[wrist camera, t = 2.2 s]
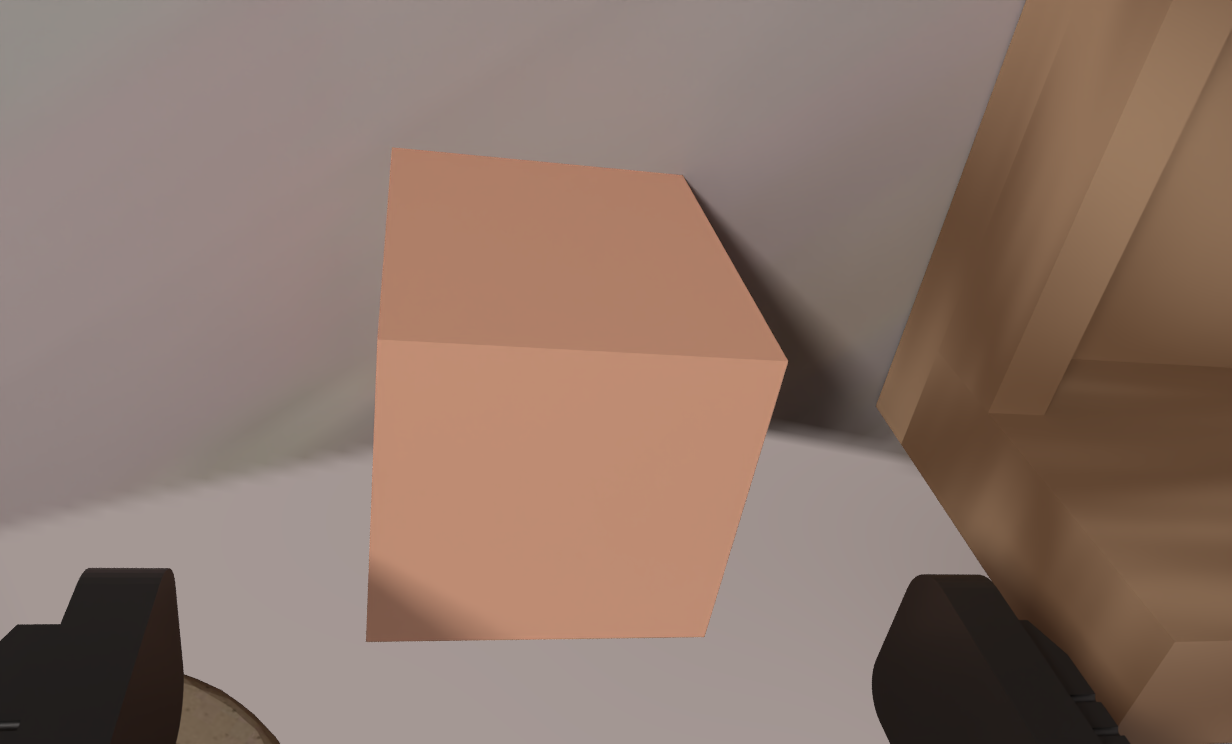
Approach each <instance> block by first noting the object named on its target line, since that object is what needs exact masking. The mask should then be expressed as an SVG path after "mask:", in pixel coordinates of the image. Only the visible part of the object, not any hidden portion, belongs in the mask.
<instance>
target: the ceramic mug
mask: <svg viewBox="0 0 1232 744" xmlns="http://www.w3.org/2000/svg"><path fill="white" fill-rule="evenodd" d="M176 744H280V743H279V741H278V740H277V739H276V737H275V736H274V735H273V734H272V733H271V732H270V731H269V730H268V729H267V728H266V726H265V725H263V723H262V722H261V721H260V720H259V719H258V718H257V717H256V716H255V715H254V714H253V713H252V712H250V711H249V710H248V709H247V708H245V707H244V706H243V705H242V704H240V703H239V702H237V701H236V700H235V699H233V698H232V697H230V696H229V695H228V694H226V693H225V692H223V691H222V690H220V689H218V688H216V687H213V686H211V685H209V684H207V683H204V682H202V681H200V680H198V679H195V678H193V677H190V676H187V675H184V692H183V705H182V714H181V721H180V727H179V732H178V737H177V741H176Z"/></svg>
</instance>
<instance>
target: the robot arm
mask: <svg viewBox="0 0 1232 744" xmlns="http://www.w3.org/2000/svg"><path fill="white" fill-rule="evenodd" d="M183 692H184V672H183V660H182V650H181V639H180V629H179V618H178V608H177V597H176V587H175V578H174V574H173V572H172V570H171V569H170V568H88V569H86V570H85V571H84V572H83V574H82V575H81V577H80V579H79V581H78V583H77V585H76V588H75V590H74V593H73V595H72V597H71V600H70V602H69V605H68V607H67V610H66V612H65V615H64V617H63V619H62V622H61V624H42V625H41V624H34V625H16V626H15V627H14V628H13V629H12V630H11V631H10V632H9V633H8V634H7V635H6V636H5V637H4V638H3V639H2V640H1V641H0V744H176V741H177V737H178V732H179V727H180V721H181V714H182V705H183ZM872 694H873V700H874V706H875V710H876V713H877V716H878V718H879V721H880V723H881V725H882V727H883V729H884V731H885V734H886V736H887V738H888V740H889V742H890V744H1130V742H1129V741H1128V739H1127V738H1126V737H1125V735H1122V736H1121V735H1120V734H1119V732H1118V725H1117V724H1116V722H1115V721H1114V720H1113V718H1112V717H1111V715H1110V714H1109V712H1108V711H1107V710H1106V708H1105V707H1104V705H1103V704H1102V703H1101V702H1096V700H1095V693H1094V691H1093V690H1092V688H1091V687H1090V686H1089V684H1088V683H1087V681H1086V680H1085V678H1084V677H1083V676H1082V674H1081V673H1080V671H1079V670H1078V669H1077V667H1076V666H1075V664H1074V663H1073V661H1072V660H1071V659H1070V657H1069V656H1068V654H1066V653H1065V652H1064V651H1063V650H1062V649H1061V648H1059V647H1058V646H1057V645H1056V644H1055V643H1054V642H1053V641H1051V640H1050V639H1049V638H1048V637H1047V636H1046V635H1044V634H1043V633H1042V632H1041V631H1040V630H1039V629H1037V628H1036V627H1035V626H1034V625H1033V624H1032V623H1030V622H1029V621H1028V620H1019V619H1018V618H1017V617H1016V615H1015V614H1014V612H1013V611H1012V609H1011V608H1010V606H1009V605H1008V603H1007V602H1006V600H1005V599H1004V597H1003V596H1002V594H1001V593H1000V591H999V590H998V589H997V587H996V586H995V585H994V583H993V582H992V581H991V580H989V579H988V578H987V577H985V576H982V575H935V574H933V575H931V574H926V575H925V574H924V575H919V576H917V577H915V578H914V579H913V580H912V581H911V583H910V584H909V586H908V588H907V590H906V593H905V595H904V597H903V600H902V602H901V604H900V607H899V609H898V611H897V613H896V616H895V618H894V620H893V622H892V625H891V627H890V630H889V632H888V634H887V636H886V639H885V641H884V643H883V645H882V648H881V650H880V652H879V655H878V657H877V659H876V662H875V665H874V669H873V675H872Z"/></svg>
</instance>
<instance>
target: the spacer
mask: <svg viewBox="0 0 1232 744" xmlns="http://www.w3.org/2000/svg"><path fill="white" fill-rule="evenodd" d="M787 364H788V360H787V358H786V357H785V355H784V353H783V351H782V350H781V348H780V346H779V344H778V342H777V341H776V339H775V337H774V335H773V334H772V332H771V330H770V328H769V327H768V325H767V323H766V321H765V320H764V318H763V316H762V314H761V313H760V311H759V309H758V307H757V305H756V304H755V302H754V300H753V298H752V297H751V295H750V293H749V291H748V290H747V288H746V286H745V284H744V283H743V281H742V279H741V277H740V276H739V274H738V272H737V270H736V269H735V267H734V265H733V263H732V261H731V260H730V258H729V256H728V254H727V253H726V251H725V249H724V247H723V246H722V244H721V242H720V240H719V239H718V237H717V235H716V233H715V232H714V230H713V228H712V226H711V225H710V223H709V221H708V219H707V217H706V216H705V214H704V212H703V210H702V209H701V207H700V205H699V203H698V202H697V200H696V198H695V196H694V195H693V193H692V191H691V189H690V188H689V186H688V184H687V182H686V181H685V179H684V177H683V175H674V174H663V173H653V172H642V171H632V170H621V169H611V168H601V167H590V166H580V165H569V164H559V163H548V162H538V161H528V160H517V159H507V158H496V157H486V156H475V155H465V154H454V153H444V152H434V151H423V150H413V149H402V148H392V155H391V168H390V181H389V195H388V208H387V221H386V234H385V248H384V261H383V274H382V287H381V301H380V314H379V327H378V342H377V368H376V394H375V420H374V447H373V474H372V500H371V525H370V527H371V528H370V552H369V579H368V605H367V631H366V642H392V641H452V640H453V641H455V640H456V641H459V640H460V641H461V640H524V639H525V640H528V639H529V640H530V639H594V638H596V639H598V638H599V639H600V638H668V637H705V634H706V630H707V627H708V624H709V620H710V617H711V614H712V610H713V607H714V604H715V601H716V597H717V594H718V591H719V587H720V584H721V581H722V578H723V574H724V571H725V567H726V564H727V561H728V558H729V555H730V551H731V548H732V545H733V541H734V538H735V535H736V532H737V528H738V525H739V522H740V518H741V515H742V512H743V508H744V505H745V502H746V499H747V495H748V492H749V489H750V486H751V482H752V479H753V476H754V472H755V469H756V466H757V462H758V459H759V455H760V453H761V449H762V446H763V443H764V439H765V436H766V433H767V430H768V426H769V423H770V420H771V416H772V413H773V410H774V407H775V403H776V400H777V397H778V393H779V390H780V387H781V384H782V380H783V377H784V374H785V370H786V367H787Z"/></svg>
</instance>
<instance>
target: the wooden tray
mask: <svg viewBox="0 0 1232 744" xmlns="http://www.w3.org/2000/svg"><path fill="white" fill-rule="evenodd" d="M876 407H877V408H878V410H879V411H880V413H881V414H882V416H883V417H884V419H885V420H886V422H887V424H888V425H889V427H890V428H891V430H892V431H893V433H894V434H895V436H896V437H897V439H898V440H899V442H900V443H901V445H902V446H903V448H904V449H905V451H906V452H907V454H908V455H909V457H910V458H911V460H912V461H913V463H914V464H915V466H916V467H917V469H918V470H919V472H920V473H921V475H922V476H923V478H924V479H925V481H926V482H927V484H928V485H929V487H930V489H931V490H932V492H933V493H934V494H935V496H936V498H937V499H938V501H939V502H940V504H941V505H942V506H943V508H944V510H945V511H946V513H947V514H948V516H949V517H950V518H951V520H952V522H953V523H954V525H955V526H956V528H957V529H958V531H959V532H960V534H961V535H962V537H963V538H964V540H965V541H966V543H967V544H968V546H969V547H970V549H971V550H972V552H973V553H974V555H975V557H976V558H977V560H978V561H979V563H980V564H981V566H982V567H983V569H984V570H985V572H986V573H987V575H988V576H989V578H990V579H991V581H992V582H993V583H994V585H995V586H996V587H997V589H998V590H999V591H1000V593H1001V594H1002V596H1003V597H1004V599H1005V600H1006V602H1007V603H1008V605H1009V606H1010V608H1011V609H1012V611H1013V612H1014V614H1015V615H1016V617H1017V618H1018V619H1019V620H1028V621H1029V622H1030V623H1032V624H1033V625H1034V626H1035V627H1036V628H1037V629H1039V630H1040V631H1041V632H1042V633H1043V634H1044V635H1046V636H1047V637H1048V638H1049V639H1050V640H1051V641H1053V642H1054V643H1055V644H1056V645H1057V646H1058V647H1059V648H1061V649H1062V650H1063V651H1064V652H1065V653H1066V654H1068V656H1069V657H1070V659H1071V660H1072V661H1073V663H1074V664H1075V666H1076V667H1077V669H1078V670H1079V671H1080V673H1081V674H1082V676H1083V677H1084V678H1085V680H1086V681H1087V683H1088V684H1089V686H1090V687H1091V688H1092V690H1093V691H1094V693H1095V700H1096V702H1101V703H1102V704H1103V705H1104V707H1105V708H1106V710H1107V711H1108V712H1109V714H1110V715H1111V717H1112V718H1113V720H1114V721H1115V722H1116V724H1117V725H1118V732H1119V734H1120V735H1121V736H1122V735H1125V737H1126V738H1127V739H1128V741H1129V742H1130V744H1212V743H1232V0H1026V2H1025V5H1024V8H1023V10H1022V13H1021V16H1020V19H1019V21H1018V24H1017V27H1016V29H1015V32H1014V35H1013V38H1012V40H1011V43H1010V46H1009V48H1008V51H1007V54H1006V56H1005V59H1004V62H1003V65H1002V67H1001V70H1000V73H999V75H998V78H997V81H996V83H995V86H994V89H993V92H992V94H991V97H990V100H989V102H988V105H987V108H986V110H985V113H984V116H983V119H982V121H981V124H980V127H979V129H978V132H977V135H976V137H975V140H974V143H973V146H972V148H971V151H970V154H969V156H968V159H967V162H966V164H965V167H964V170H963V173H962V175H961V178H960V181H959V183H958V186H957V189H956V191H955V194H954V197H953V200H952V202H951V205H950V208H949V210H948V213H947V216H946V218H945V221H944V224H943V227H942V229H941V232H940V235H939V237H938V240H937V243H936V245H935V248H934V251H933V254H932V256H931V259H930V262H929V264H928V267H927V270H926V272H925V275H924V278H923V281H922V283H921V286H920V289H919V291H918V294H917V297H916V300H915V302H914V305H913V308H912V310H911V313H910V316H909V318H908V321H907V324H906V327H905V329H904V332H903V335H902V337H901V340H900V343H899V345H898V348H897V351H896V354H895V356H894V359H893V362H892V364H891V367H890V370H889V372H888V375H887V378H886V381H885V383H884V386H883V389H882V391H881V394H880V397H879V399H878V402H877V405H876Z"/></svg>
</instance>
